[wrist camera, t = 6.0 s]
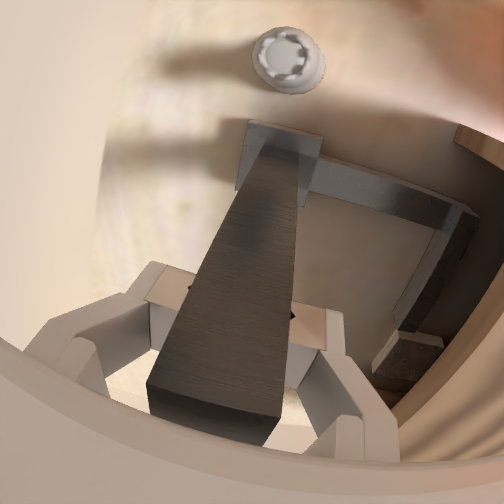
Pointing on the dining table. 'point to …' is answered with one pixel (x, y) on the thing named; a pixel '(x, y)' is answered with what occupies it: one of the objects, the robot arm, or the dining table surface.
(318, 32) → the dining table surface
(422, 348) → the block
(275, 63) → the rook chess piece
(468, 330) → the low cabinet
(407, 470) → the robot arm
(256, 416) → the hook tool
